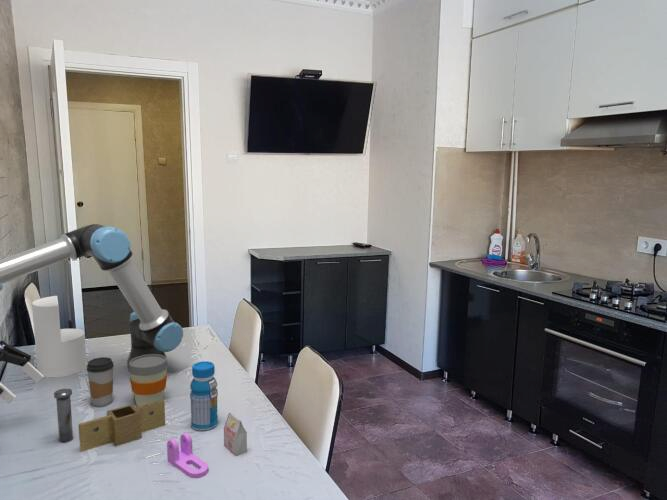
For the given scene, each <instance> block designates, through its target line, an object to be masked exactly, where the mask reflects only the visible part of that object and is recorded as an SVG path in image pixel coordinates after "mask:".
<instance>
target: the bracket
mask: <svg viewBox="0 0 667 500" xmlns="http://www.w3.org/2000/svg"><path fill="white" fill-rule="evenodd" d="M179 439H180V440H179V441H180V446H179V442H178V440H177V439H176V438H172V439H169V440H167V442H166V452H167V453H166V454H167V463H169V464H171V465H172V466H174V467H175V469H176V468H177V469H178V470H179V471H181V473H184V474H185V475H186V476H187V477H189V478H191V479H201V478H202V477H205V476H207V474H208V473H209V464H208V463H207V462H205V461H204V460H202V459H201V458H199V457H198V456H196V455H195V454H194V453H193V438H192V436H191V434H190V433H189V432H184V433H183V434H181V435H180V437H179ZM191 465H192V466H194V467H195V468H196V469H195V468H194V467H192V466H191Z"/></svg>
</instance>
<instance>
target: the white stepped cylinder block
mask: <svg viewBox="0 0 667 500" xmlns="http://www.w3.org/2000/svg"><path fill="white" fill-rule="evenodd" d="M58 298H59V297H58V295H52V296H46V297H41V298H37V299H36V300H33V301H32V302H31V305H32V307H31V308H32V321H33V333H34V345H35V357H36V369H37V370H38V371H39V372H40V373H41V374H43V375H44V376H45V377H44V378H49V377H55V378H62V377H69V376H73V375H75V374H78V373H80V372H82V371H83V370H85V369H87V365H88V362H87V348H86V346H87V345H86V333H85V330H83V329H80V328H61V320H60V319H61V318H60V306H59V300H58Z"/></svg>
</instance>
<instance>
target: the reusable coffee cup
mask: <svg viewBox="0 0 667 500" xmlns="http://www.w3.org/2000/svg"><path fill="white" fill-rule="evenodd" d="M166 357H167V356H166ZM166 357H165V356H163V355H158V354H148V355H142V356H138V357H135V358H133V359H132V360H130V362H129V369H128V373H129V374H130V375H129V376H130V377H129V382H130V387H131V388H130V389H131V392H132V393H133V396H134V401H135V405H136V407H140V406H143V405H147V404H150V403H154V402H157V401H161V400H164V397H165V389H166V387H167V380H168V379H167V378H168V373H167V369H168V361H167V359H168V358H167V359H166Z"/></svg>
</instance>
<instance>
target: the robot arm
mask: <svg viewBox="0 0 667 500" xmlns="http://www.w3.org/2000/svg"><path fill="white" fill-rule="evenodd" d="M133 256H134V253H133V251H132V249H131V241H130V239H129V237H128V235H127V234H126V233H125V232H124V231H122V230H121V229H119V228H117V227H114V226H106V225H102V224H98V223H97V224H96V223H93V224H92V223H91V224H87V225H85V226H82V227H79V228H76V229H73V230H71V231H68V232H66V233H62V234H61V236H60V238H58V239H54V240H52V241H50V242H46V243H44V244H40V245H37V246H35V247H32V248H30V249H27V250H24V251H21V252H18V253H16V254H15V253H14V254H13V255H9V256H7V257H4V258H1V259H0V292H2V290H3V288H4V287H3V284H6V283H8V282H11V281H13V280H16V279H18V278H21V277H23V276H24V277H25V276H27V275H29V274H32V273H34V272H37V271H39V270H42V269H44V268H47V267H50V266H54V265H56V264H58V263H61V262H63V261H66V260H68V259H71V260H76V259H79V258H82V257H92V258H93V259H94V261H95V262H96V263H97V265H98V266H99V268H100V269H101V271H103V272H107V273H109V275H110V276H111V278H112V280H113V281H114V283H115V284H116V286H117V287H118V288H119V290H120V292H121V293H122V295H123V297H124V298H125V299H126V301H127V304H128V305H129V306H130V307H131V309H132V310H133V312H131V313H130V314H129V326H130V327H129V328H130V345H131V346H130V347H131V348H130V351H129V353H128V354H129V355H128V358H127V361H126V362H127V369H128V370H129V362H130V360H132V359H133V358H135V357H138V356H142V355H148V354H158V355H163V356H165V357H166V359H168V358H167V355H166V353H167V352H172V351H174V350H175V349H177V348H178V347H179V346H180V344H181V342H182V340H183V338H184V330H183V328H182V326H181V325H180V323H178V322H175V321H174V320H173V318H172V317H171V314H170V313H169V311H168V310H167V309H162V307H161V306H160V305H159V302H157V300H156V298H155V296H154V294H153V293H152V292H151V290H150V288H149V286H148V284H147V282H146V281H145V280H144V278H143V276H142V275H141V274H140V272H139V270H138V269H137V267H136V265H135V263H134V262H133V260H132V258H133ZM31 360H32V355H31V354H28V353H27V352H24V351H23V350H20V349H18V348H16V347H14V346H12V345H10V344H8V343H7V342H5V341H4V340H0V362H5V363H9V364H12V365H15V366H20V367H21V370H22V371H23V372H24V373H25V374H26V375H27V376H29V377H30V378H31V379H32V380H33V381H34V382H36V384H38V383H40V382H41V381H42V380H43V378H46V377H45V376H44V375H43V374H41V373H40V372H39V371H38V370H37V366H35V365H34V364H32V363H31ZM0 398H1V399H2V400H3V401H4V402H5V403H7V404H8V405H9V404H10V403H12V401H14V400H15V399H16V398H17V396H16V394H14V393H13V392H12V391H11V390H10V389H9V388H7V386H5V385H4V384H3V383H2V382H1V381H0Z"/></svg>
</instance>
